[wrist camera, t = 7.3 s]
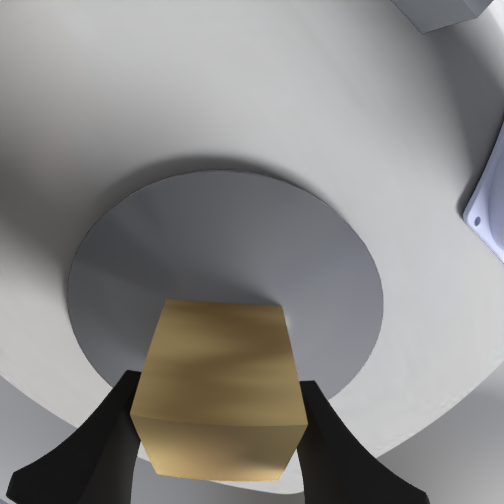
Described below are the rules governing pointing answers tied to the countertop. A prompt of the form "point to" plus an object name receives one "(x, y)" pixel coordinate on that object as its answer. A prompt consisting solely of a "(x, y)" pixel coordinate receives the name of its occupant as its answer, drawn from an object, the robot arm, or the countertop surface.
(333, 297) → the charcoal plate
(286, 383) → the ochre block
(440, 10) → the slate grey block
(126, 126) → the countertop surface
